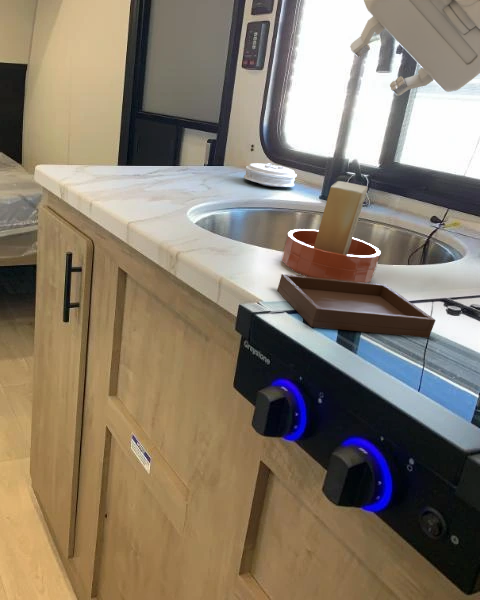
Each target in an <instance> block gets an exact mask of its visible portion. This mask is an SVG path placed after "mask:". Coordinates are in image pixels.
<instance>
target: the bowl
mask: <svg viewBox="0 0 480 600" xmlns="http://www.w3.org/2000/svg"><path fill="white" fill-rule="evenodd" d="M318 231H319V229H318V230H317V229H308V228H307V229H305V228H303V229H301V228H299V229H298V228H297V229H291V230H290V231H288V232H287V234H286V238H285V241H284V246H283V248H282V249H283V250H282V253H281V261H282V262H283V263H284V264H285V266H287V267H288V268H289V269H290V270H292V271H293V272H295V273H297V274H300V276H306V277H316V278H326V279H336V280H346V281H356V282H366V283H371V282H372V280H373V278H374V276H375V273H376V270H377V267H378V263H379V261H380V257H381V256H382V255H381V254H382V252H381V250H380V249H379V248H378V247H376V246H374V245H372V244H371V243H368V242H367V241H364V240H363V239H359V238H355V237H353V238H352V241H351V244H350V248H349V251H348V254H347V255H346V254H340V253H335V252H330V251H326V250H322V249H318V248H315V247H314V245H315V242H316V238H317V234H318Z"/></svg>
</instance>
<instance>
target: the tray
mask: <svg viewBox="0 0 480 600" xmlns="http://www.w3.org/2000/svg"><path fill="white" fill-rule="evenodd" d="M277 292H278V293H279V294H280V295H281V296H282V297H283V298H284V299H285V300H286V301H287V303H289V305H290V306H291V307H292V308H293V309H294V310H295V312H297V313H298V314H299V316H300V317H301V318H302V319H303V320H304V321H305V322H306V323H307V324H308V325H309V326H310V327H311V328H318V329H330V330H341V331H351V332H361V333H373V334H385V335H394V336H405V337H416V338H427V339H429V338H430V336H431V334H432V331H433V329H434V325H435V323H436V319H435V318H433V316H431V315H429V314H428V313H426V311H424V310H422V309H421V308H419V307H418V306H417V305H415V303H412V302H411V301H410V300H408V299H407V298H405V297H404V296H402V295H401V294H400V293H398V292H397V291H396V290H394V289H392V288H391V287H390V286H388V285H387V284H386V283H385V284H384V283H374V282H356V281H346V280H336V279H326V278H316V277H306V276H304V275H295V274H284V273H281V275H280V278H279V282H278V286H277Z"/></svg>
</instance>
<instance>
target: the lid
mask: <svg viewBox="0 0 480 600" xmlns="http://www.w3.org/2000/svg"><path fill="white" fill-rule="evenodd" d="M245 169H246V170H245V171H246V172H245V174H244V175H243V179H245V180H248V181H251V182H254V183H258V184H259V185H262V186H266V187H269V188H271V187H272V188H276V187H281V188H291V187H295V183H294V182H295V178H297V176H298V175H297V173H296V172H295V171H294V170H293V169H291V168H288V167H284V166H282V165H276V164H273V163H271V162H266V163H260V162H259V163H258V162H253V163H249V165H246V166H245Z"/></svg>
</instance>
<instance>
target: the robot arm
mask: <svg viewBox="0 0 480 600" xmlns="http://www.w3.org/2000/svg"><path fill="white" fill-rule="evenodd" d="M363 2H364V5H365V8H366V9H367V11H368V12H369V14H370V15H371V16H372V17H370V18H369V19H368V20H367V22H366V24H365V25H364V28H363V30H362V32H361V34H360V36H358V38H356V39H355V40H354V41H353V42H351V44H350V46H349V48H350V51H351V52H352V53H353V54H354V55H355V56H356V57H358V58H360V57H362V56H363V55H364V54H365V53H367V52H369V51H370V50H371V48H370V47H371V46H370V45H369V43H370V41H371V39H372V38H373V36H374V34H376V35H379V34H381V33H382V32H384V31H386V32H387V33H389V35H390V36H391V37H392V38H393V39H394V40H395V41H396V42H397V43H398V44H399V46H401V48H403V50H405V51H406V53H407V54H409V56H410V57H411V58H412V59H413V60H414V61H415V62H416V63H417V64H418V65H419V66H420V67H421V68H420V69H418V70H417V73H416V74H414V75H412V76H407V77H405V78H404V77H403V76H402V75H400V76H398V77H397V78H396V79H395V80H392V82H390V84H389V87H390V90H391V91H392V92H393V93H394V94H395V95H396V96H397V97H399V96H401V95H403V94H404V93H406V92H407V91H409V90H412V89H416V88H422V87H425V86H427V85H429V84H431V83H432V82H433V81H434V82H435V84H436V85H438V86H439V88H441V89H442V90H443V92H445V93H451V92H456V91H459V90H460V89H461V88H463V87H465V85H467V84H468V83H469V82H471V81H472V80H474V79H475V78H476V77H478V76H479V74H480V0H363Z"/></svg>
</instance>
